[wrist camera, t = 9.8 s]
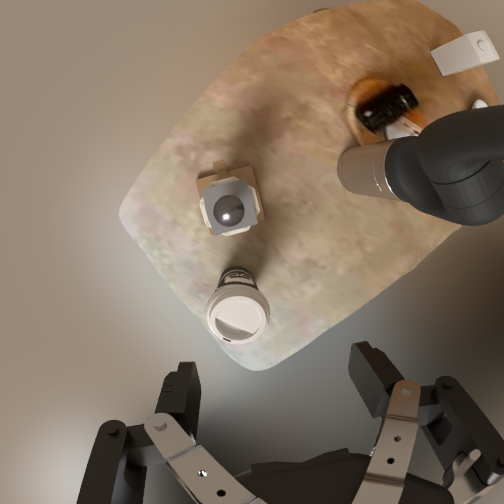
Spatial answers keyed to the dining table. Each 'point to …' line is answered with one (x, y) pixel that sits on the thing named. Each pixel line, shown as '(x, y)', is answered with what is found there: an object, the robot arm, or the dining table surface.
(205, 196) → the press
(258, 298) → the coffee cup
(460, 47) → the milk carton
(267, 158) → the dining table surface
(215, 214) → the plunger
